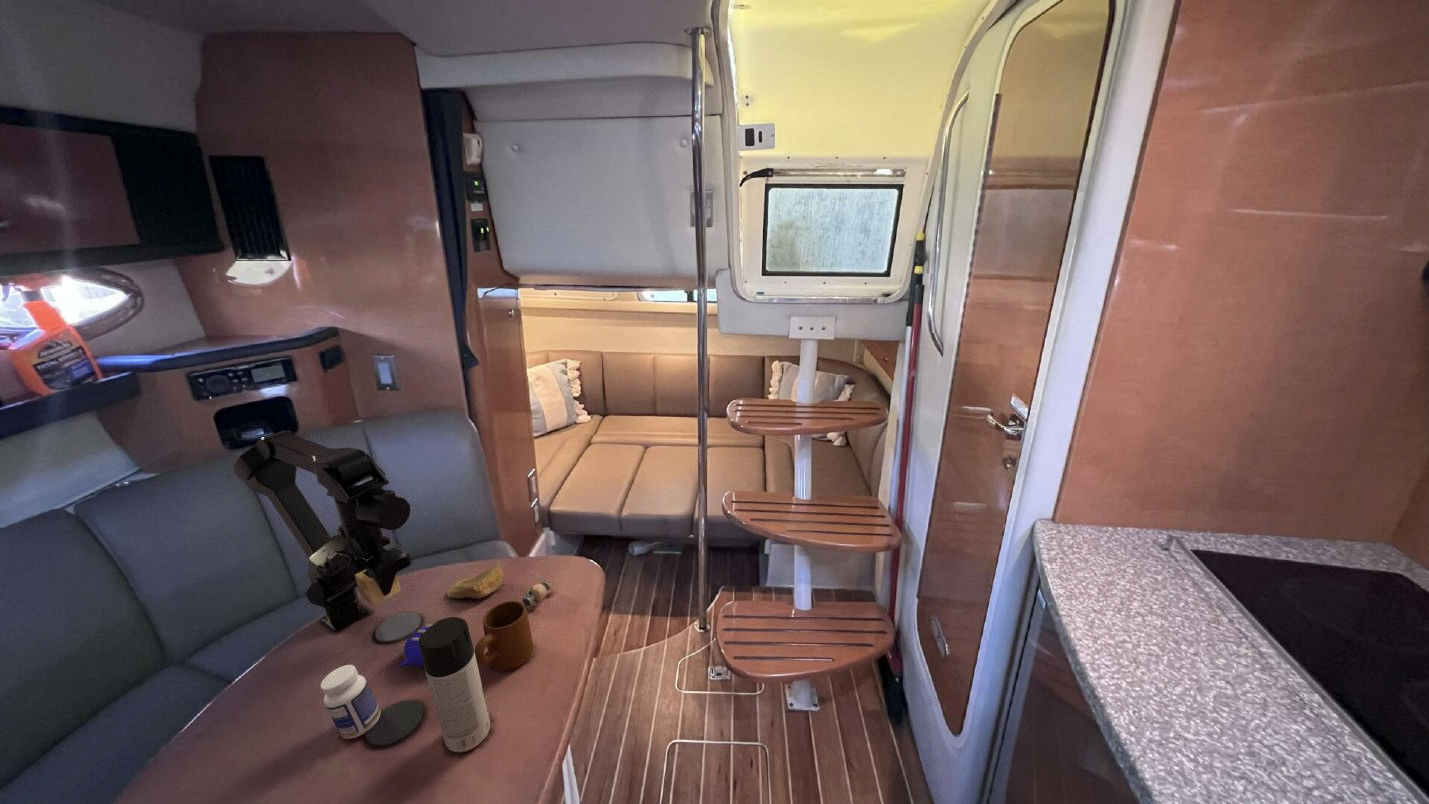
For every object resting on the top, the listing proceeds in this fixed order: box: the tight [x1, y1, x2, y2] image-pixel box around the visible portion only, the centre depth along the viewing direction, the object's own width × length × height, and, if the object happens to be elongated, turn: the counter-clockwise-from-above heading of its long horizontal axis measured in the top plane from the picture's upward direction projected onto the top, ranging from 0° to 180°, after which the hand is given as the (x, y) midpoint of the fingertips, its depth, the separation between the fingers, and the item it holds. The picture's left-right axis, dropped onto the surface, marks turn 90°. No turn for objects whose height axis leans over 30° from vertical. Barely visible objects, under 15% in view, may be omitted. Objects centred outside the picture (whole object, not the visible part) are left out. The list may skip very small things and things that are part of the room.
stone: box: [447, 564, 505, 599], centre depth 116 cm, size 9×5×10 cm
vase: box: [521, 572, 555, 609], centre depth 111 cm, size 5×5×6 cm
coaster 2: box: [365, 700, 424, 748], centre depth 85 cm, size 8×8×1 cm
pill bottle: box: [320, 664, 382, 740], centre depth 83 cm, size 6×6×10 cm
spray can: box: [419, 616, 491, 753], centre depth 80 cm, size 7×7×20 cm
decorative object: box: [398, 624, 433, 667], centre depth 97 cm, size 10×6×10 cm
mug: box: [474, 600, 534, 671], centre depth 95 cm, size 12×8×9 cm, turn 165°
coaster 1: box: [374, 611, 422, 644], centre depth 106 cm, size 8×8×1 cm
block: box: [355, 570, 402, 607], centre depth 101 cm, size 5×5×5 cm
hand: (379, 589), depth 101 cm, fingers closed on block, 5 cm apart
